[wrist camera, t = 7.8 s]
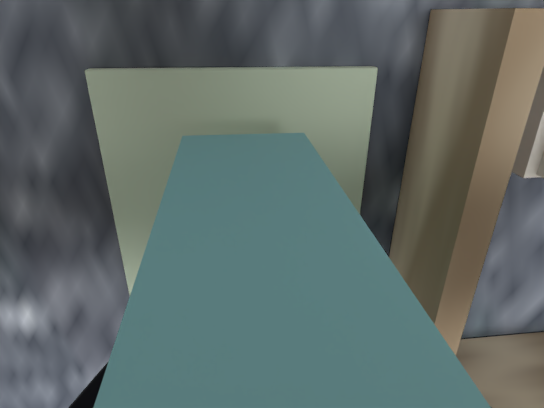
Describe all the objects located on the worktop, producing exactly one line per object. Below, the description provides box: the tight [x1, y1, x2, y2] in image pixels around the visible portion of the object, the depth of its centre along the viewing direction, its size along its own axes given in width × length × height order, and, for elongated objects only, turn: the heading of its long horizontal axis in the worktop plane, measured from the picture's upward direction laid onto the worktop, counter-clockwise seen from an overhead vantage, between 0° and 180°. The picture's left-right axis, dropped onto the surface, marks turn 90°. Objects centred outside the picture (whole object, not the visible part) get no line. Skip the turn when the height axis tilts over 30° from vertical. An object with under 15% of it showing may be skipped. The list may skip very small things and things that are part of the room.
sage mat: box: [84, 66, 378, 295], centre depth 13 cm, size 8×9×1 cm
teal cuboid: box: [93, 133, 491, 408], centre depth 7 cm, size 3×6×8 cm, turn 179°
